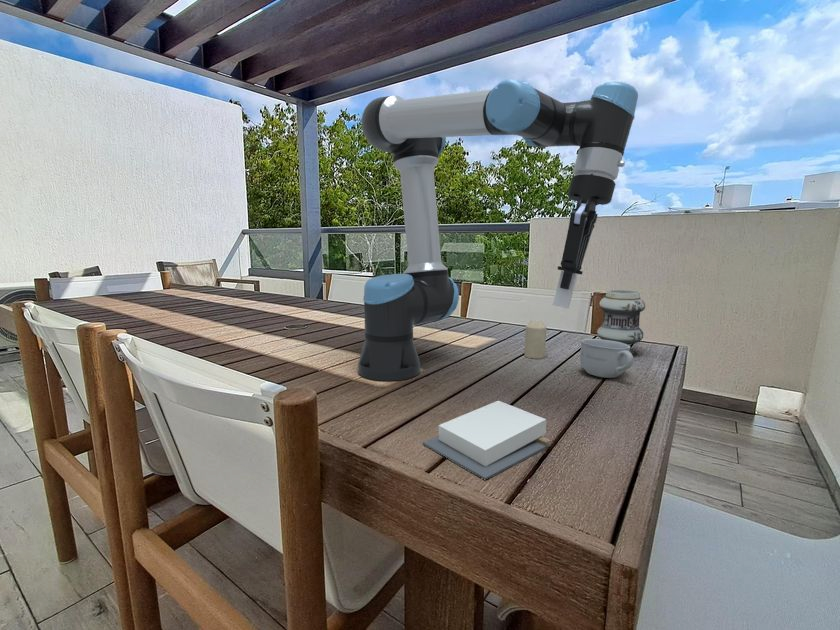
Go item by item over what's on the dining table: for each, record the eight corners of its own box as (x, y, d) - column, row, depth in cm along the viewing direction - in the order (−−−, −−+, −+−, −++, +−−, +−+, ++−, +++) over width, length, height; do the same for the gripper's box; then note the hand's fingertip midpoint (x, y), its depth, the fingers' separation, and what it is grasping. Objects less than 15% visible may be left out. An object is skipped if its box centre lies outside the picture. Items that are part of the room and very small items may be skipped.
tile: (498, 400, 74) (438, 425, 66) (546, 419, 66) (485, 450, 58) (498, 414, 75) (438, 440, 66) (545, 434, 67) (485, 467, 58)
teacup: (571, 368, 106) (573, 337, 105) (612, 367, 107) (614, 336, 105) (599, 387, 92) (601, 351, 91) (645, 385, 93) (649, 351, 92)
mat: (486, 419, 75) (486, 417, 75) (549, 446, 65) (549, 444, 65) (422, 444, 66) (422, 442, 66) (485, 480, 56) (485, 478, 56)
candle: (545, 354, 118) (547, 320, 116) (544, 359, 113) (546, 323, 111) (525, 353, 120) (527, 318, 118) (523, 357, 115) (525, 322, 113)
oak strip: (487, 419, 75) (487, 413, 75) (550, 446, 65) (550, 440, 65) (482, 420, 74) (482, 415, 74) (545, 448, 65) (546, 442, 64)
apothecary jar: (601, 345, 129) (605, 287, 126) (644, 351, 123) (650, 290, 119) (591, 353, 120) (595, 291, 117) (637, 360, 113) (644, 294, 110)
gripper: (613, 170, 67) (576, 312, 71) (618, 189, 79) (585, 310, 82) (566, 166, 71) (532, 302, 74) (577, 185, 82) (547, 301, 85)
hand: (560, 306), depth 78 cm, fingers closed
